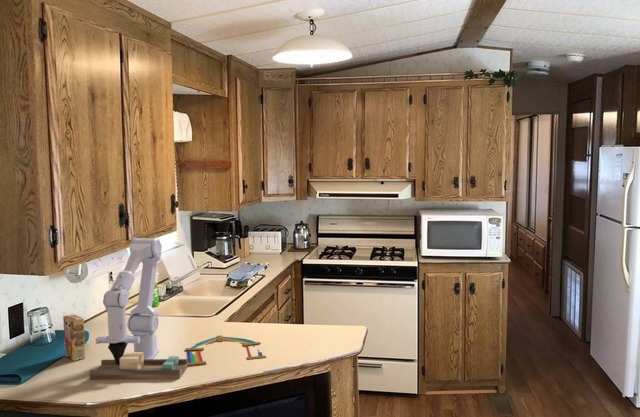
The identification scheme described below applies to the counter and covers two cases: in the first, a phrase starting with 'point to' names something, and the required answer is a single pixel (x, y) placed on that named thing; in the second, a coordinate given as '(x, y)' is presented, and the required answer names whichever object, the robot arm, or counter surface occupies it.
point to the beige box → (132, 360)
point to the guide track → (142, 369)
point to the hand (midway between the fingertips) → (119, 363)
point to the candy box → (74, 336)
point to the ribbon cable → (197, 359)
